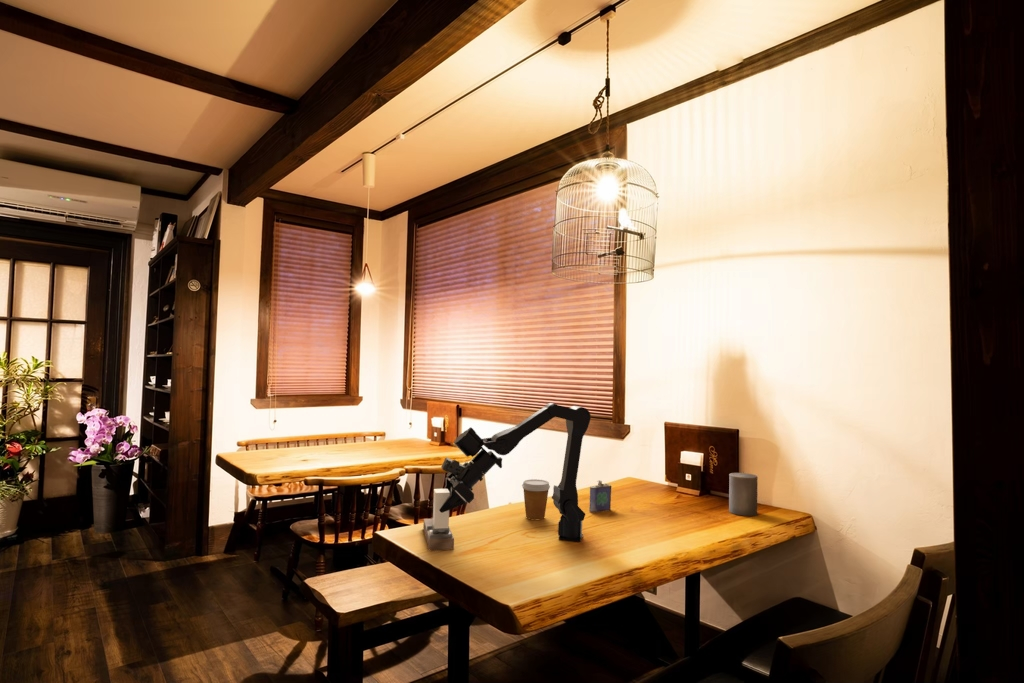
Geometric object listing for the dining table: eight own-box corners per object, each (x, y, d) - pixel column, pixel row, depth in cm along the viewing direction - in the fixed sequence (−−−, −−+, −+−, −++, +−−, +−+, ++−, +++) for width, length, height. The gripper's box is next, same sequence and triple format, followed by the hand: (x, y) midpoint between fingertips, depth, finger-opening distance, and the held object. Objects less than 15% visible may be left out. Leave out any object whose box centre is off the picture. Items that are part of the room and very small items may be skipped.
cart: (447, 529, 167) (448, 488, 167) (449, 535, 162) (451, 492, 162) (431, 530, 166) (432, 488, 166) (432, 536, 161) (434, 493, 161)
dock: (445, 527, 179) (445, 514, 180) (453, 549, 159) (454, 534, 159) (423, 528, 178) (423, 515, 178) (429, 550, 158) (429, 535, 158)
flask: (592, 513, 202) (592, 482, 202) (586, 511, 204) (587, 481, 205) (612, 510, 206) (613, 480, 207) (607, 508, 209) (607, 479, 209)
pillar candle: (763, 516, 204) (763, 473, 205) (739, 516, 202) (740, 474, 203) (745, 509, 214) (746, 468, 214) (723, 510, 211) (723, 469, 212)
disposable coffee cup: (547, 522, 188) (548, 486, 189) (518, 520, 190) (519, 483, 191) (551, 515, 198) (551, 480, 198) (523, 512, 200) (524, 478, 200)
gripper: (454, 443, 175) (416, 480, 172) (463, 453, 156) (421, 495, 154) (479, 469, 176) (442, 506, 173) (490, 482, 158) (449, 524, 155)
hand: (438, 507), depth 164 cm, fingers open, 9 cm apart
